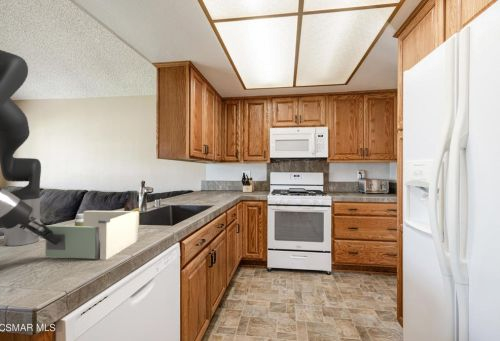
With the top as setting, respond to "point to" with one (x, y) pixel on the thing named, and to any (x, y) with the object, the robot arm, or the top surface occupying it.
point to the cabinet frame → (113, 229)
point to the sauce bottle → (132, 203)
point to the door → (74, 242)
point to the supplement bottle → (79, 220)
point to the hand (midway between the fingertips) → (57, 241)
